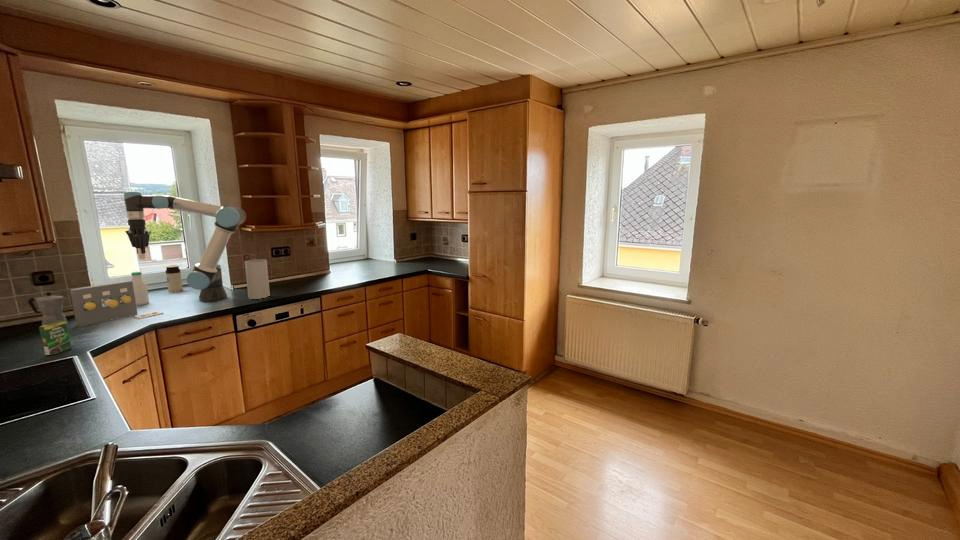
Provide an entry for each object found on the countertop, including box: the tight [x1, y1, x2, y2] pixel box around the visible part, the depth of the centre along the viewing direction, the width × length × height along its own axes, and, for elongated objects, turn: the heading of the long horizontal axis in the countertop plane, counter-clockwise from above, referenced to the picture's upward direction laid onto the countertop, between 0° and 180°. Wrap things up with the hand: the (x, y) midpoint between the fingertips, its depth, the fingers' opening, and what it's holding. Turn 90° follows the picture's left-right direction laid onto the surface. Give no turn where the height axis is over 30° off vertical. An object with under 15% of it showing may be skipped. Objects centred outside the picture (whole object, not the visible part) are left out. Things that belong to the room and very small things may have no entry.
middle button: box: [102, 298, 118, 308], centre depth 203 cm, size 7×4×4 cm, turn 65°
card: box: [133, 311, 164, 320], centre depth 215 cm, size 6×11×1 cm, turn 155°
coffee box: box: [38, 321, 73, 356], centre depth 163 cm, size 8×3×13 cm, turn 171°
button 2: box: [119, 295, 132, 303], centre depth 212 cm, size 7×4×4 cm, turn 65°
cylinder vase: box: [244, 258, 271, 300], centre depth 254 cm, size 12×12×25 cm
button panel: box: [69, 280, 138, 328], centre depth 205 cm, size 4×24×19 cm, turn 155°
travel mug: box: [165, 264, 184, 293], centre depth 268 cm, size 8×8×18 cm
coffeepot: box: [27, 291, 69, 326], centre depth 194 cm, size 15×9×18 cm, turn 104°
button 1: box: [82, 301, 96, 310], centre depth 198 cm, size 7×4×4 cm, turn 65°
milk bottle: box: [131, 271, 150, 306], centre depth 236 cm, size 8×8×20 cm
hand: (142, 259), depth 225 cm, fingers closed
